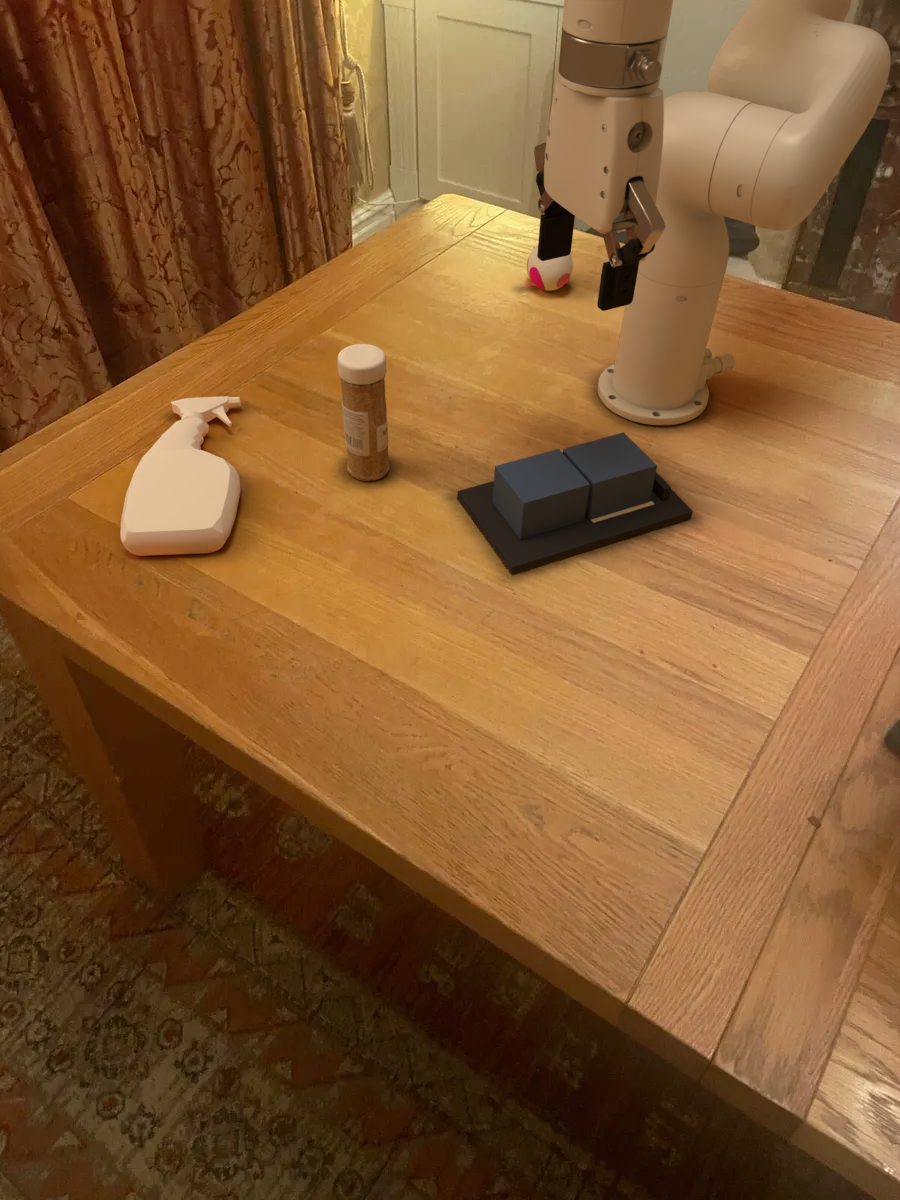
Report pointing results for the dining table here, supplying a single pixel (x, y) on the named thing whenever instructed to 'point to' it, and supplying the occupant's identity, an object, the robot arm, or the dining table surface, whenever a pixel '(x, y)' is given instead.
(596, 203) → the robot arm
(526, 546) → the pad base
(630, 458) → the back pad
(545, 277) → the stress ball
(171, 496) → the spray bottle
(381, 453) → the sprinkles bottle
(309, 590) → the dining table surface
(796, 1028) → the dining table surface
